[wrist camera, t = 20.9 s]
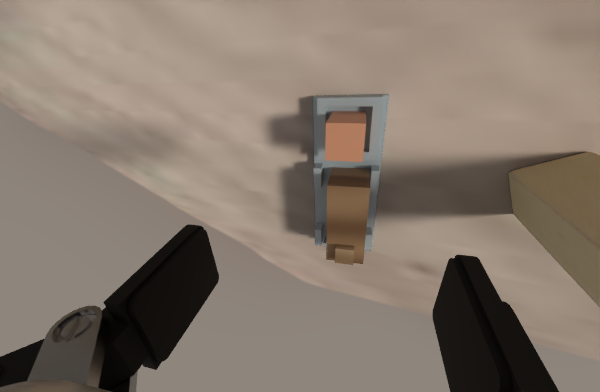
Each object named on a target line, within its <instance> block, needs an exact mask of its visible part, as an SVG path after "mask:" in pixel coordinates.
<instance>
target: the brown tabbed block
mask: <svg viewBox="0 0 600 392" xmlns="http://www.w3.org/2000/svg"><path fill="white" fill-rule="evenodd" d="M369 197H370V169H364V168H340V167H333V168H332V171H331V174H330V177H329V180H328V184H327V241H326V259H327V260H335V263H342V264H350V265H353V263H359V264H363V258H364V248H365V238H366V228H367V217H368V207H369Z"/></svg>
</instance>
